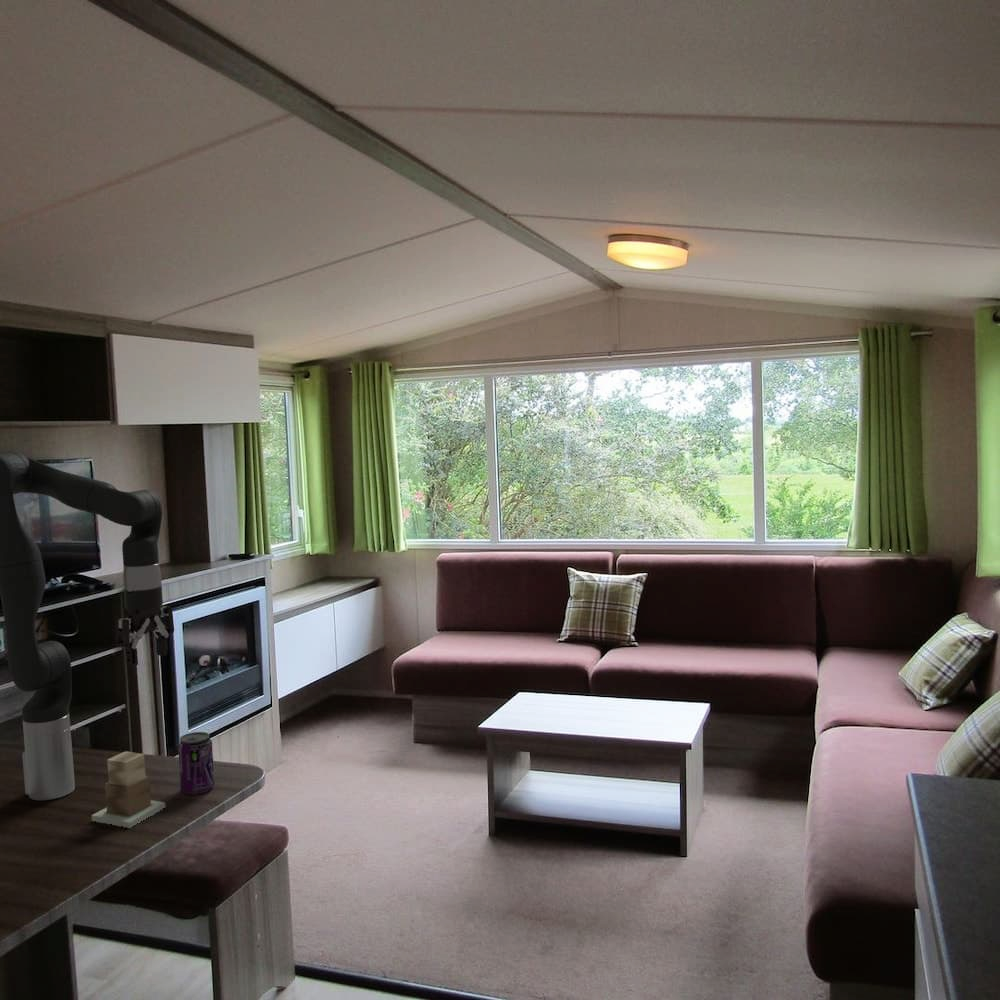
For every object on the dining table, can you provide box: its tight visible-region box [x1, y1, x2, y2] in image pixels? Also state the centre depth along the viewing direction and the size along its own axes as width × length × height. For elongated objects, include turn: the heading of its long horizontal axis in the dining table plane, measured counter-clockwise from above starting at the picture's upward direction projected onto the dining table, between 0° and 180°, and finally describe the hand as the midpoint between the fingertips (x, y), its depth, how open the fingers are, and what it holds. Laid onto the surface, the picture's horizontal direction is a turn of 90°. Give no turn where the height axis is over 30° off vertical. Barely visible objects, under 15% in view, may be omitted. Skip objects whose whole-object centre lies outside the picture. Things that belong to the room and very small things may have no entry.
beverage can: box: [177, 731, 216, 795], centre depth 206 cm, size 7×7×12 cm
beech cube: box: [106, 751, 147, 787], centre depth 194 cm, size 5×5×5 cm
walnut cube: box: [104, 775, 152, 816], centre depth 195 cm, size 6×6×6 cm
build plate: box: [91, 799, 166, 829], centre depth 195 cm, size 10×10×1 cm
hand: (147, 660), depth 201 cm, fingers open, 8 cm apart
